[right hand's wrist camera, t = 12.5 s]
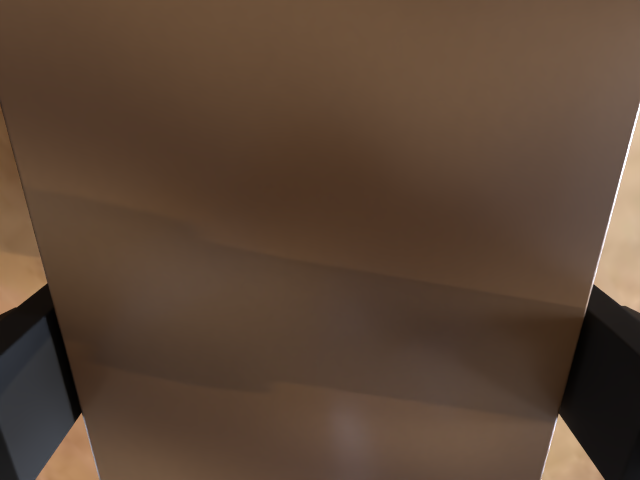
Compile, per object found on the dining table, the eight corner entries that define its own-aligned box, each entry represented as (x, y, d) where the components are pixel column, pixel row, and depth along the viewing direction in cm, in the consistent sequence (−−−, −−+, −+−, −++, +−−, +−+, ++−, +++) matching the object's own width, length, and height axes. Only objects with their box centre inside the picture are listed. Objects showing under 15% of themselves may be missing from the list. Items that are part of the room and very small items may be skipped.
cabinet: (172, -164, 15) (-249, -825, 4) (469, -163, 15) (892, -824, 4) (217, 287, 21) (107, 518, 10) (423, 287, 21) (532, 517, 10)
